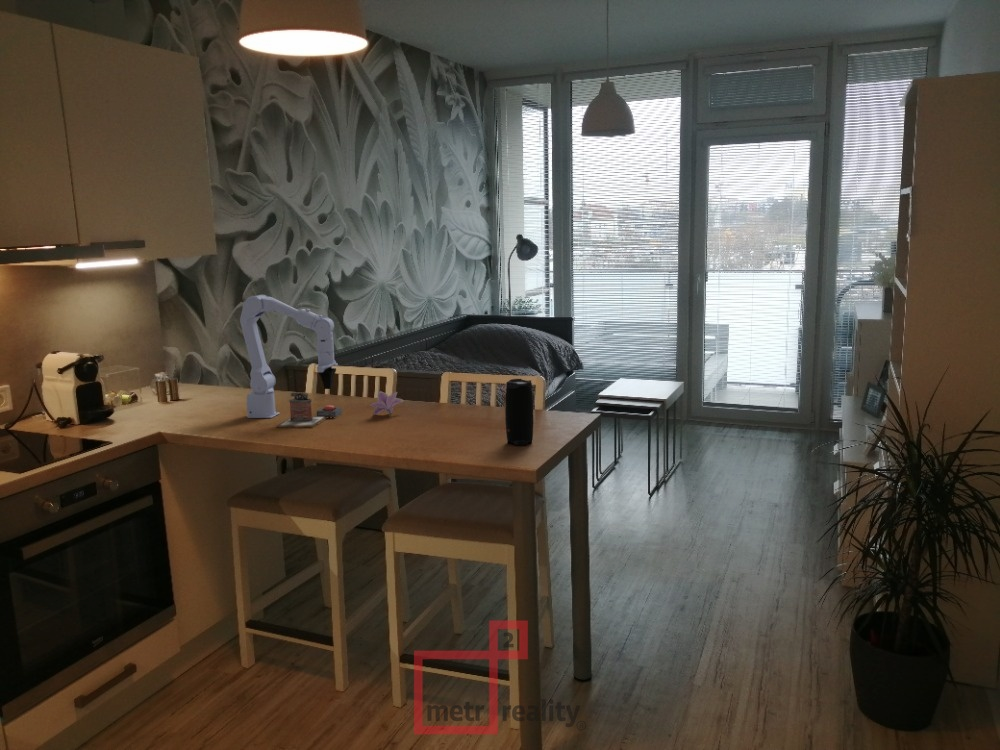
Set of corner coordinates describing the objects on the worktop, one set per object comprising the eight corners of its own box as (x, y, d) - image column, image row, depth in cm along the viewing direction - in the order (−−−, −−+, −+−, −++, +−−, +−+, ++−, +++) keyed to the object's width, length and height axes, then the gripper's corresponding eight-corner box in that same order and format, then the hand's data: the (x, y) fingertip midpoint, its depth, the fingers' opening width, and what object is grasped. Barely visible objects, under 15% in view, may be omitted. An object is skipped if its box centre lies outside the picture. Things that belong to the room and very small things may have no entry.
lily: (409, 416, 288) (401, 392, 290) (403, 410, 277) (395, 385, 279) (378, 427, 288) (370, 403, 290) (371, 422, 276) (363, 396, 279)
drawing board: (276, 427, 270) (276, 425, 270) (293, 417, 285) (292, 415, 284) (312, 427, 268) (312, 425, 268) (327, 418, 283) (327, 415, 283)
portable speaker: (510, 447, 238) (508, 384, 234) (503, 440, 247) (501, 379, 243) (537, 445, 240) (536, 382, 236) (529, 438, 249) (528, 377, 245)
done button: (322, 411, 285) (322, 407, 284) (326, 409, 288) (325, 405, 288) (332, 411, 284) (332, 407, 284) (335, 409, 288) (335, 405, 287)
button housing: (317, 417, 283) (316, 411, 283) (323, 413, 290) (323, 407, 290) (335, 418, 283) (335, 411, 282) (341, 413, 289) (341, 407, 289)
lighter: (314, 419, 277) (312, 391, 276) (310, 421, 274) (308, 393, 272) (293, 419, 279) (291, 391, 277) (288, 421, 276) (286, 393, 274)
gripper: (329, 354, 275) (332, 392, 277) (343, 348, 289) (345, 385, 291) (310, 354, 276) (312, 392, 278) (324, 348, 290) (326, 385, 292)
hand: (328, 388), depth 285 cm, fingers closed
